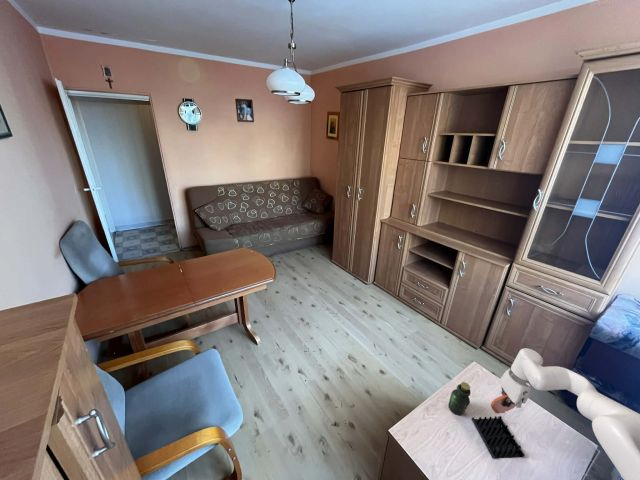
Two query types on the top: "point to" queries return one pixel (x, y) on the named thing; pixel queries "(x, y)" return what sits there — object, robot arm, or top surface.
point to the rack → (497, 438)
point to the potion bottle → (460, 399)
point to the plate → (500, 404)
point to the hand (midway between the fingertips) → (504, 403)
